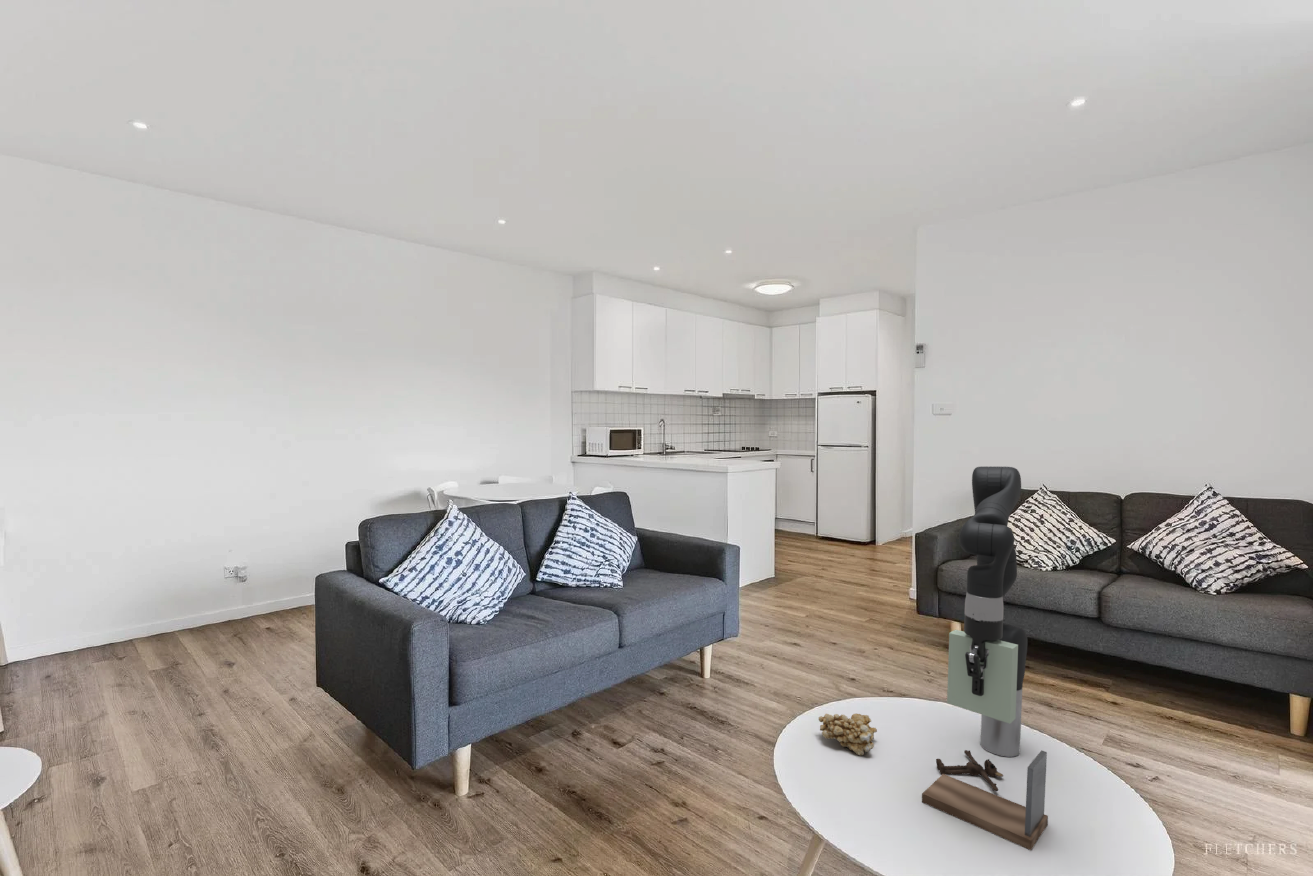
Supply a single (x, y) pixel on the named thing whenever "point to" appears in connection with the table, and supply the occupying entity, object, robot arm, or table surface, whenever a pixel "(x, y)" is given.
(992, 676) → the sage book
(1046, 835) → the table surface
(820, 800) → the table surface
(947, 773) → the wooden monkey figure
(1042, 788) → the grey metal bookend
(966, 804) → the walnut shelf board
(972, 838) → the table surface
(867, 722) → the mineral formation
